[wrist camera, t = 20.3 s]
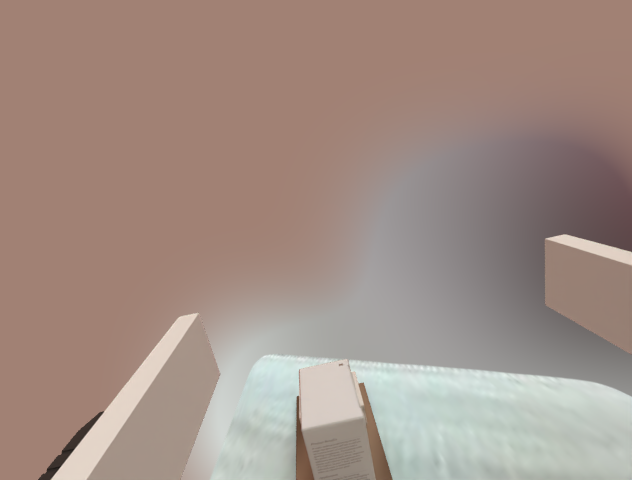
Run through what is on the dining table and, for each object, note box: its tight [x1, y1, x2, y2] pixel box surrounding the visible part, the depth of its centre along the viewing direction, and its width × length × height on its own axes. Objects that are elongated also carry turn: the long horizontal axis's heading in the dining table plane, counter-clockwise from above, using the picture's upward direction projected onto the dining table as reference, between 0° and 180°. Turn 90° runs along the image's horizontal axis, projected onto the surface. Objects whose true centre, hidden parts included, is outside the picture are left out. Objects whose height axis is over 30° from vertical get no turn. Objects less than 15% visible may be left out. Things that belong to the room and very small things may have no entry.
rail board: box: [296, 372, 392, 480], centre depth 32 cm, size 10×24×4 cm, turn 3°
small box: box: [299, 359, 376, 480], centre depth 30 cm, size 8×6×10 cm
